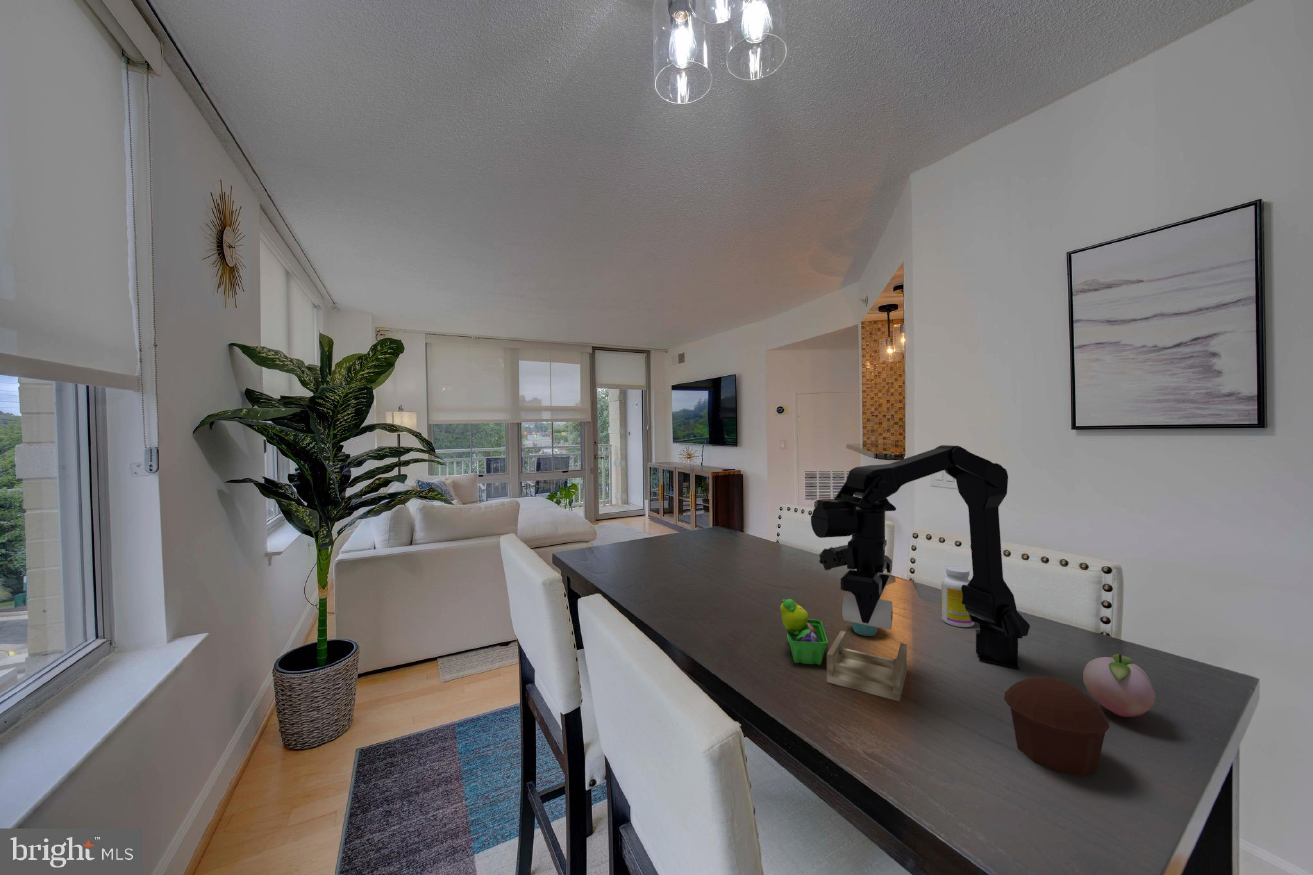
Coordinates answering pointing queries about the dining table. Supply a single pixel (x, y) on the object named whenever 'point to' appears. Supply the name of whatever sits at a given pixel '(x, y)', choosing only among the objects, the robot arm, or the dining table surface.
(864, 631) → the cupcake
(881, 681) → the roll cradle
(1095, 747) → the muffin
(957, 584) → the supplement bottle
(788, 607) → the fruit basket
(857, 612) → the paper roll
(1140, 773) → the dining table surface
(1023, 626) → the robot arm
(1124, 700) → the decorative fruit
